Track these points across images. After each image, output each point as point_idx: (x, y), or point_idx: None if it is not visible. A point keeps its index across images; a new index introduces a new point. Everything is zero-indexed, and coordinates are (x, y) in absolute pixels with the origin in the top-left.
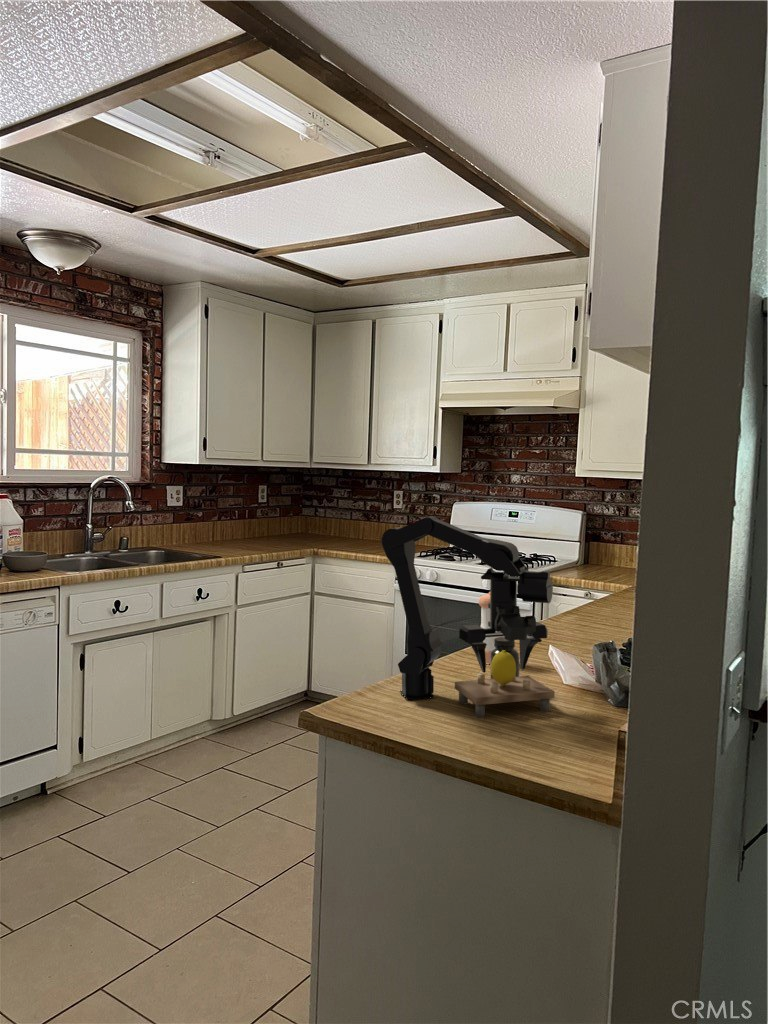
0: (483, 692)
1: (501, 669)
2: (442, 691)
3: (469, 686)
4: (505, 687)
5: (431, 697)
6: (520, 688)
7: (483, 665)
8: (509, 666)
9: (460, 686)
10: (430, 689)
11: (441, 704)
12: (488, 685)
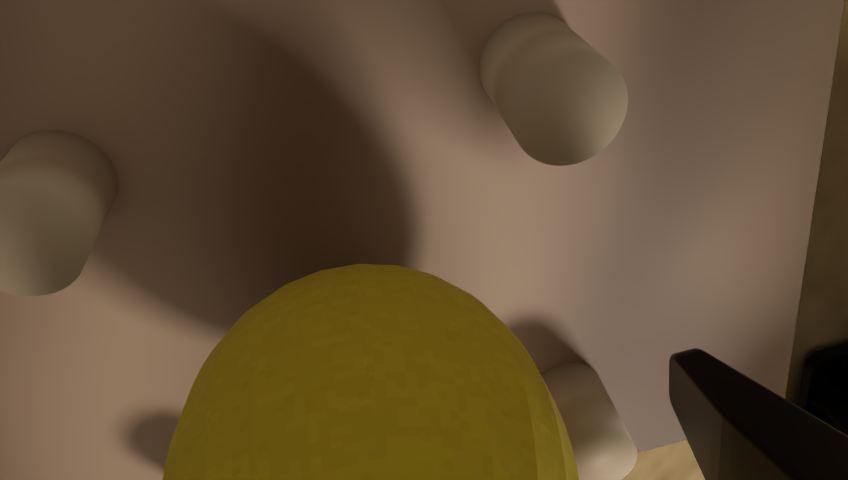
0: (662, 71)
1: (456, 358)
2: (687, 475)
3: (720, 291)
4: (339, 264)
5: (830, 351)
6: (148, 230)
7: (782, 413)
8: (303, 416)
9: (798, 296)
10: (843, 418)
11: (812, 241)
12: (514, 327)
